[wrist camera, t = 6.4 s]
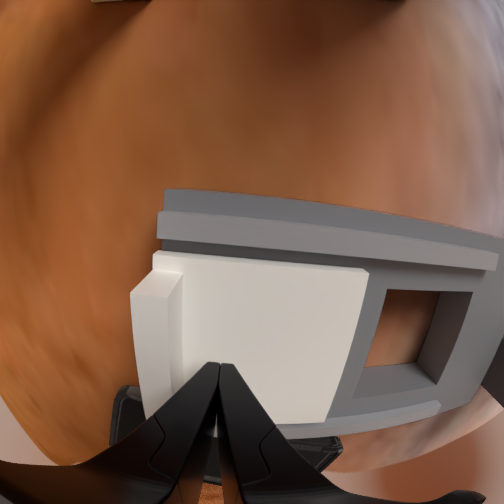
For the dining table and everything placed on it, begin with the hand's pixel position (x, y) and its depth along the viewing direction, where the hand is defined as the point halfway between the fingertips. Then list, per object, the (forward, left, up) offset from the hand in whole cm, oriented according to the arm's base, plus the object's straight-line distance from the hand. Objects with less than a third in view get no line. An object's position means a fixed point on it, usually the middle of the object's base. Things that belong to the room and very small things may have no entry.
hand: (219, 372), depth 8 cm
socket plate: (-7, 0, -4) cm, 8 cm away
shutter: (-1, 0, -2) cm, 2 cm away
